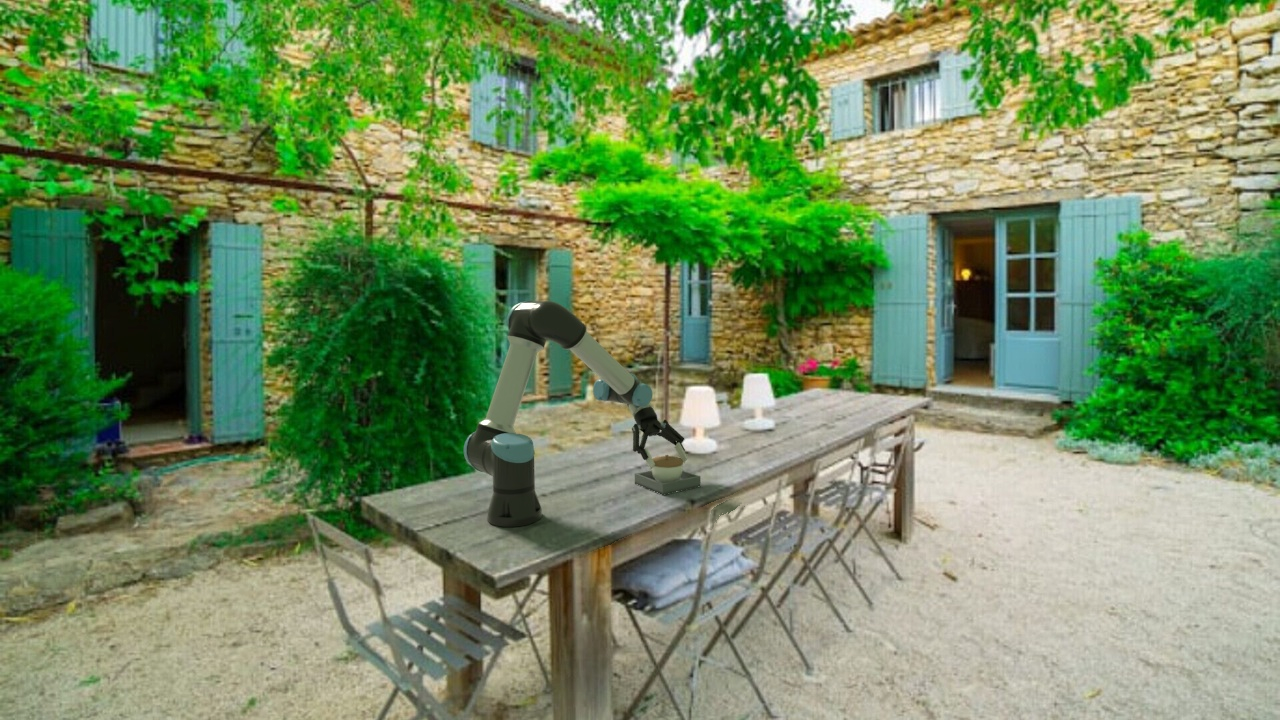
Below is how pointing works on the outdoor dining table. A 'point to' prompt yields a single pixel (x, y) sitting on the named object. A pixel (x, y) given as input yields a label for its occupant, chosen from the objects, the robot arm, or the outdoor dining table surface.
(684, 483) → the bin
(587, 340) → the robot arm
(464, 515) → the outdoor dining table surface
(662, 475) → the lidded jar
